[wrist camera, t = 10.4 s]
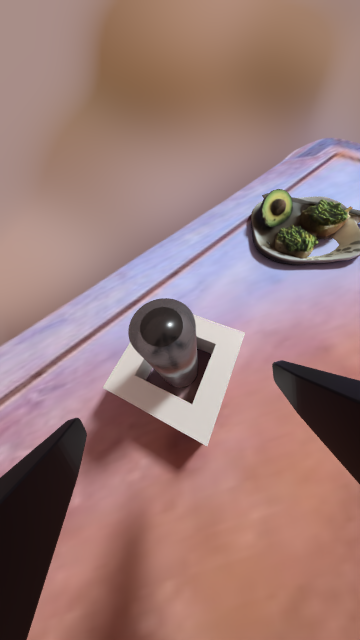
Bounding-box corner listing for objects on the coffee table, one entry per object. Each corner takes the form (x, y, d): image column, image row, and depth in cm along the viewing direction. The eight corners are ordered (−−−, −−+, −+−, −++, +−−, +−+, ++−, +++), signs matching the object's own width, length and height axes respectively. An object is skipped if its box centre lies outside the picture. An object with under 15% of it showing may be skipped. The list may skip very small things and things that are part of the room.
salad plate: (351, 199, 34) (372, 170, 30) (392, 269, 26) (427, 242, 22) (246, 203, 37) (252, 177, 33) (254, 268, 29) (263, 244, 25)
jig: (205, 440, 18) (207, 446, 15) (118, 392, 22) (102, 387, 18) (238, 345, 23) (245, 332, 19) (161, 316, 26) (155, 301, 22)
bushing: (184, 395, 21) (167, 374, 10) (155, 373, 22) (113, 334, 12) (204, 364, 22) (208, 316, 11) (176, 345, 24) (156, 287, 13)
